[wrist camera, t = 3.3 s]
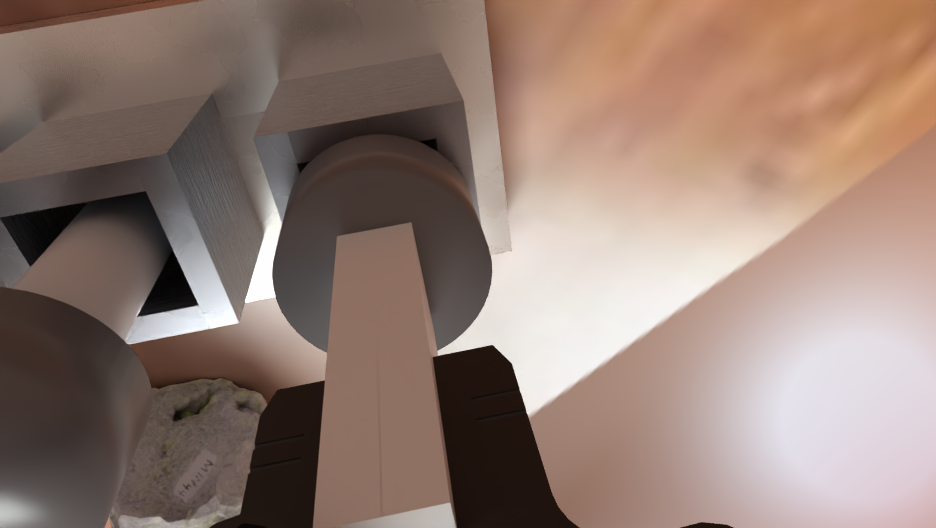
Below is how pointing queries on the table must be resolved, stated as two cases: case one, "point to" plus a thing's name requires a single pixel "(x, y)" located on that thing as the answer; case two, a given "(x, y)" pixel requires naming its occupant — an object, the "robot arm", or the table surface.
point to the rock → (191, 457)
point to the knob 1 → (76, 367)
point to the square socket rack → (229, 126)
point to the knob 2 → (376, 206)
